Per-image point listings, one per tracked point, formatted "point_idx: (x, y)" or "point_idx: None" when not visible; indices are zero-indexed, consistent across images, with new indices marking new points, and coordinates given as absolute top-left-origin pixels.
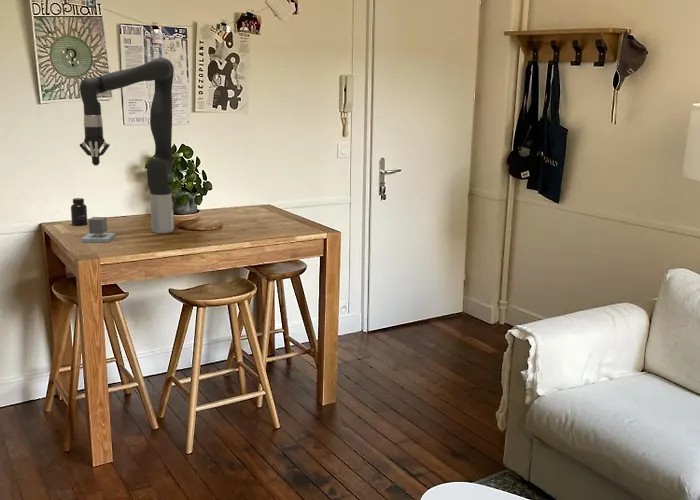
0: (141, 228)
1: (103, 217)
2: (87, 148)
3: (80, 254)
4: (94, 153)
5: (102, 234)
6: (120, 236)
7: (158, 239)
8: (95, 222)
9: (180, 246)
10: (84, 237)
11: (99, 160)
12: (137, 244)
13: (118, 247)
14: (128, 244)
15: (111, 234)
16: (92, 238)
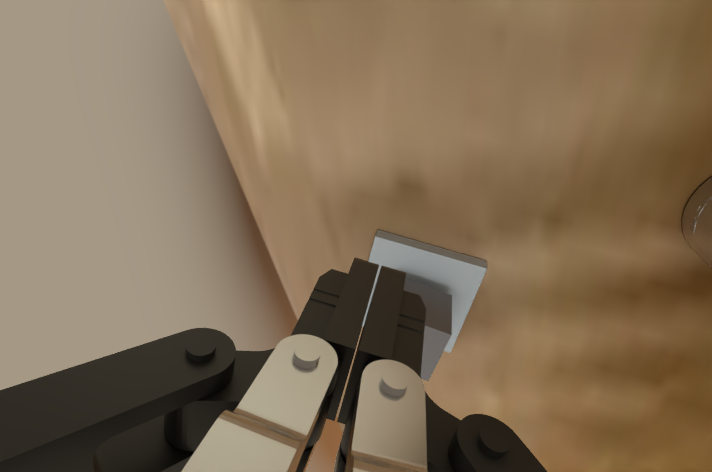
0: (651, 120)
1: (437, 338)
2: (60, 441)
3: None
4: (306, 404)
5: (431, 279)
6: (508, 264)
7: (659, 352)
8: None
9: (704, 458)
10: None
11: (423, 336)
12: (553, 393)
13: (479, 407)
14: (520, 384)
15: (468, 288)
16: None
